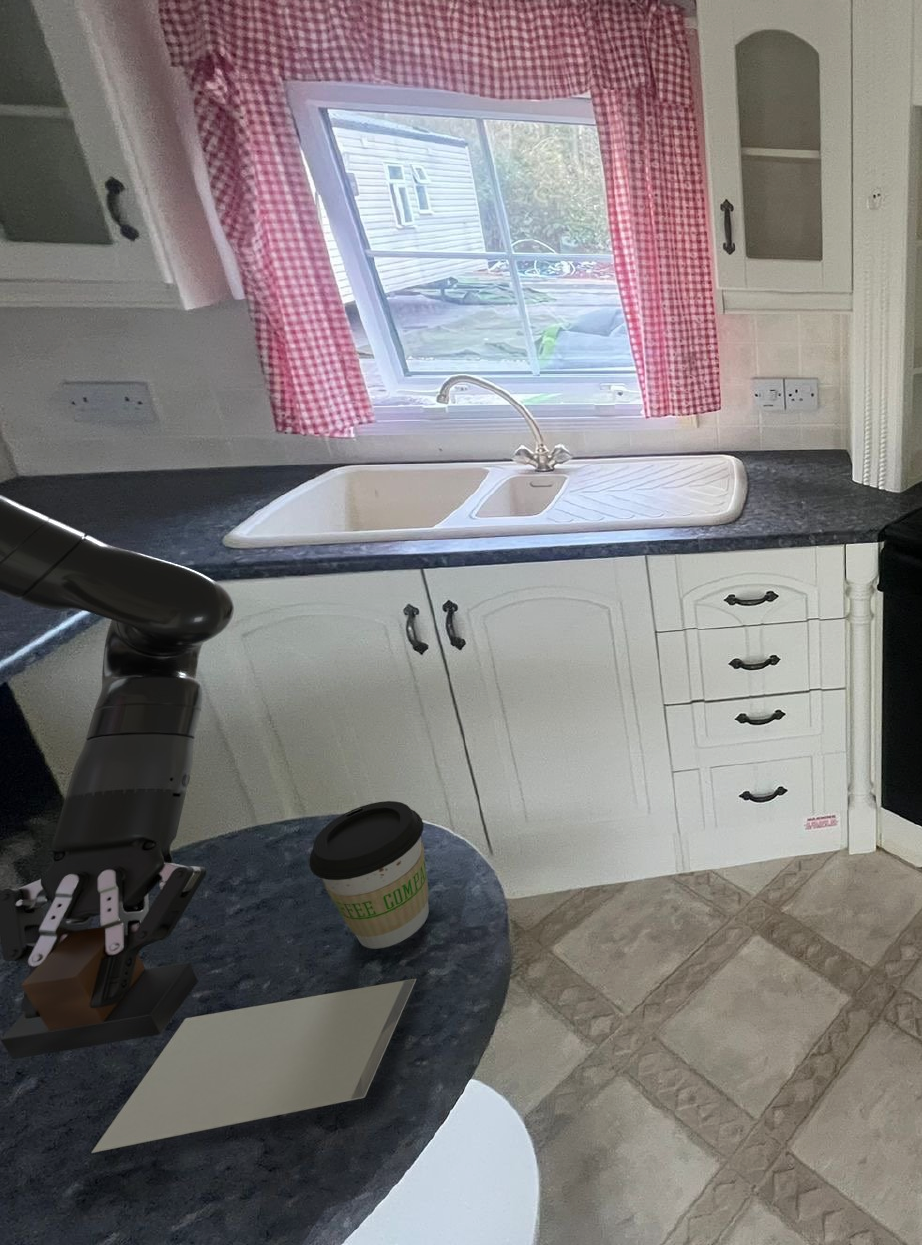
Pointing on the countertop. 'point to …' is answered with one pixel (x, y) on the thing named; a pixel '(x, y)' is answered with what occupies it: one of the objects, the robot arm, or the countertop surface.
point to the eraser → (68, 991)
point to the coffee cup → (375, 871)
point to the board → (262, 1063)
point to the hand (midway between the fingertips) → (73, 1009)
